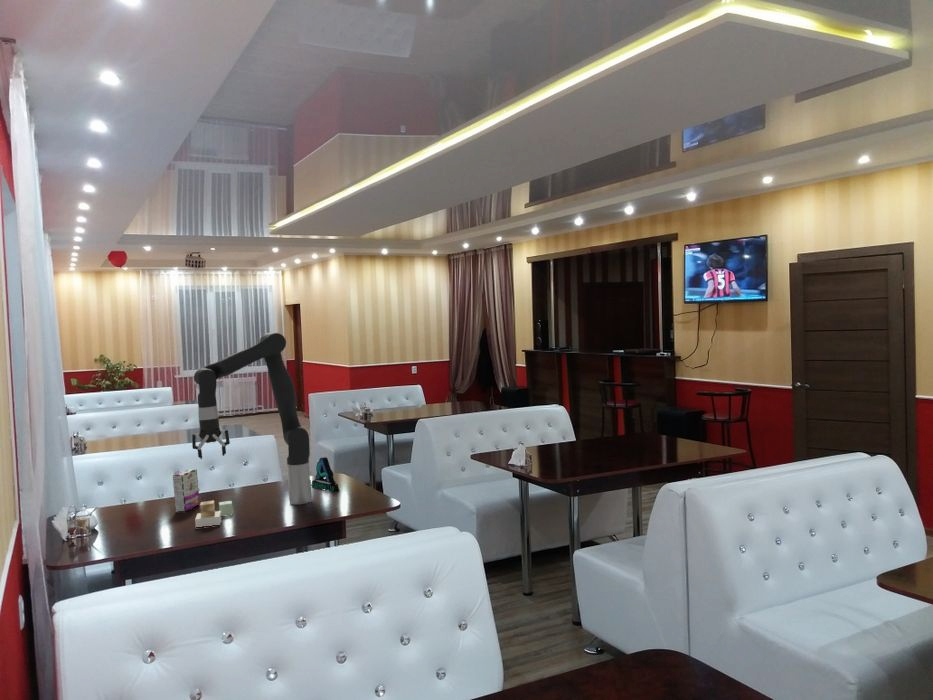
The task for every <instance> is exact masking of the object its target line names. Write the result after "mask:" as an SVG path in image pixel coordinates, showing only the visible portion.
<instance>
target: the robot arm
mask: <svg viewBox="0 0 933 700" xmlns="http://www.w3.org/2000/svg"><path fill="white" fill-rule="evenodd" d="M259 339H260V340H259V342H258V343H256V344H254V345H253V346H252V345H251V346H250V347H248V348H245V349H242V350H240V351H238V352H235V353H231V354H229V355H227V356H226V357H223V358H221V359H220V360H218V361H216V362H214V363H211V364H209V365H206V366H205V365H204V366H203V367H201V368H199V369H197V370H196V371H195V373H194V376H193V379H194V383H196V384H197V385H198V389H199V393H198V395H197V407H198V413H197V414H198V415H197V416H198V424H199V426H198V427H199V432H198V433H192V435H191V442H192V445H191V446H192V449H193V450H197V457H198V458H199V459H200V460H202V459H203V453H202V450H203V449H202V447H204V445H205V443H206V444H209V443H216V442H218V444H220V445H221V454H222V456H223V457H225V455H226V453H227V448H226V446H228V445H230V444H231V442H230V436H229V430H228V429H227V428H226V429H223V430H221V428H220V420H219V419H220V418H219V416H220V415H219V410H218V405H217V394H216V393H217V380H218V379H220V378H223V377H227V376H230V375H232V374H234V373H236V372H238V371H239V370H241V369H244V368H245V367H247V366H248V365H251V364H252V363H254V362H257V361H259V360H262V359H264V361H265V364H266V367H267V371H268V377H269V381H270V384H271V389H272V394H273V396H274V402H275V405H276V408H277V411H278V414H279V417H280V423H281V427H282V435H283V441H284V442H285V444H287V445H288V448H287V449H288V455H287V457H286V465H287V466H286V467H287V481H288V482H287V484H288V497H289V498H288V499H289V500H288V501H289V504H290V505H304V504H308V502H309V503H312V502H313V496H312V495H313V494H312V493H313V492H312V487H311V485H312V480H311V475H310V459H309V458H310V452H311V451H310V449H311V448H310V447H311V446H310V436H309V432H308V431H307V430H306V429H305V428H303V427H302V426H301V423H300V421H299V418H298V412H297V402H298V401H297V393H296V389H295V384H294V381H293V379H292V377H291V374H290V372H289V371H288V369H287V368H286V366H285V363H284V360H283V356H282V352H283V351H284V350H285V348H286V346H287V340H286V338H285V336H284V335H282V334H281V333H280V332H267V333H263V334H262V336H261V337H260V338H259ZM221 435H223V436H225V441H223V440H222V439H221V438H220V437H221ZM198 438H200V439H201V441H200V442H199V444H198V445H197V444H196V443H197V442H196V441H197V439H198Z"/></svg>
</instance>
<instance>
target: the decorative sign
mask: <svg viewBox="0 0 933 700" xmlns="http://www.w3.org/2000/svg"><path fill="white" fill-rule="evenodd" d="M315 468H316V475H315V479H313V480H311V486H313V487H312V488H314V487H317V488H316V489H318V488H320V489H319V490H322V489H325V490H324V491H326V490H329V491H328V492H331V491H332V492H331V493H337V492H340V488H339V484H338V483H337V482H336V481H335V479H334V472H333V470H332V468H331V465H330V461H329V460H328V457H326V456H323V457H320V458H319V461H318V462H317V463H316V467H315Z"/></svg>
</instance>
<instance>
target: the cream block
mask: <svg viewBox="0 0 933 700" xmlns="http://www.w3.org/2000/svg"><path fill="white" fill-rule="evenodd" d="M222 518H223V517H221V511H219V510H215V516H210V517H203V518H201V512H198V513H196V516H195V518H194V520H195V521H194V523H195V528H196V527H202V526H212V525H220V526H221V524H220V523H222V520H221V519H222ZM212 527H213V526H212Z"/></svg>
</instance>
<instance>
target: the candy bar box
mask: <svg viewBox="0 0 933 700" xmlns="http://www.w3.org/2000/svg"><path fill="white" fill-rule="evenodd" d="M172 482H173V483H172V484H173V493H174V504H175V513H179V512H178V511H187V510H189V509H191V508H193V507H195V506H197V505H199V504H201V501H200V493H199V490H200V489H199V480H198V469H197V468H188V469H184V470H181V471H180V472H177V473H174V474H173V475H172ZM199 506H200V505H199ZM197 507H198V506H197ZM195 508H196V507H195ZM193 509H194V508H193ZM191 510H192V509H191ZM189 511H190V510H189ZM187 512H188V511H187Z"/></svg>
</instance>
